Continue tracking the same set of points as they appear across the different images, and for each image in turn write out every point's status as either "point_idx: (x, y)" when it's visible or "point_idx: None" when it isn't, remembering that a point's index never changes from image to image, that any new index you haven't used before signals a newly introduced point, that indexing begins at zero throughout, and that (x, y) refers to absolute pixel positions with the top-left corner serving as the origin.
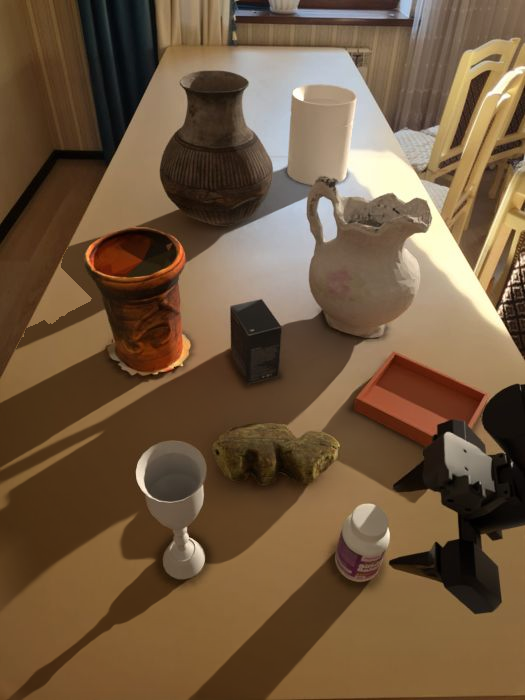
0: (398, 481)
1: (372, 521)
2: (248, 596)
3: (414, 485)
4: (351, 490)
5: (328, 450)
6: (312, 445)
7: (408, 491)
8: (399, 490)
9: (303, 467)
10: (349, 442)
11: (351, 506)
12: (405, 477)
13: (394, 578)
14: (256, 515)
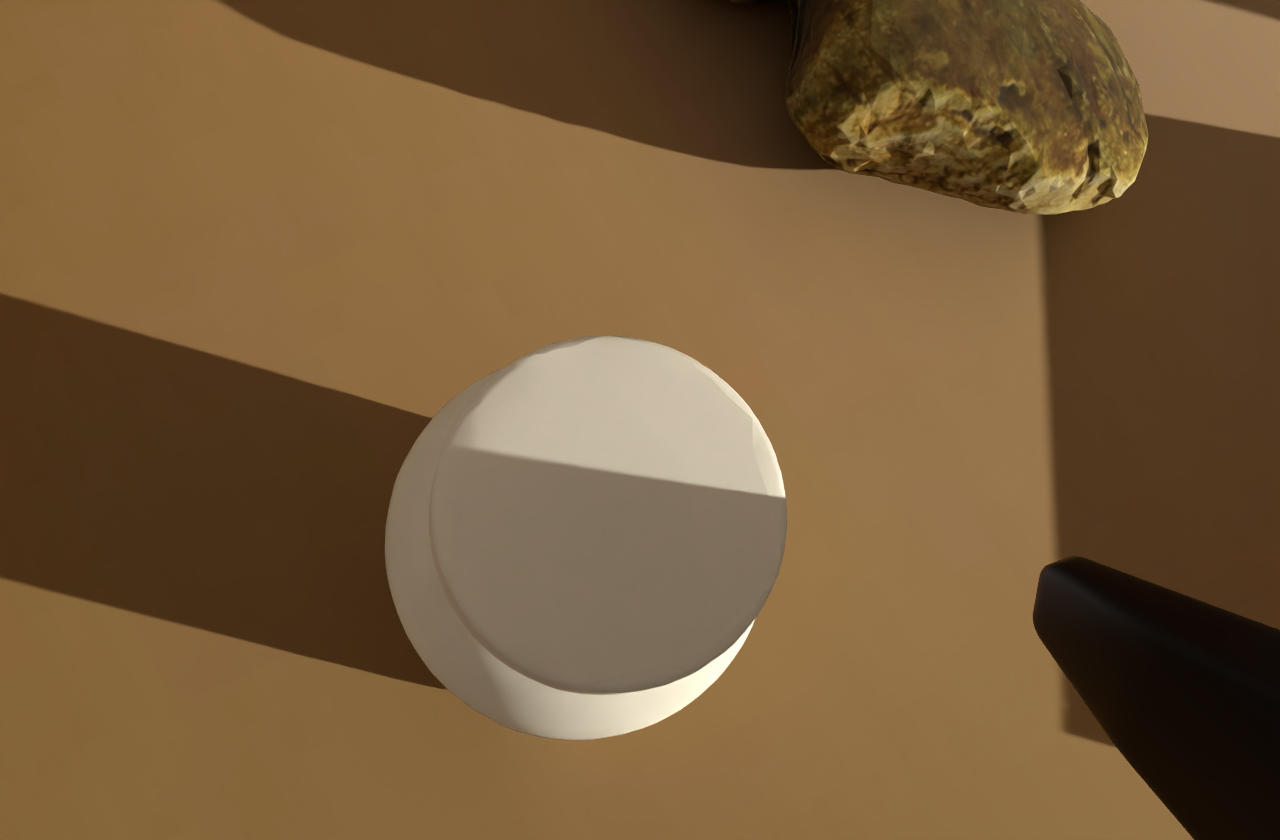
0: (1143, 590)
1: (604, 531)
2: (63, 152)
3: (1212, 770)
4: (922, 383)
5: (1052, 127)
6: (1022, 25)
7: (1106, 724)
8: (1062, 637)
9: (855, 31)
10: (1173, 263)
11: (835, 420)
12: (1241, 642)
13: (563, 817)
14: (508, 14)
